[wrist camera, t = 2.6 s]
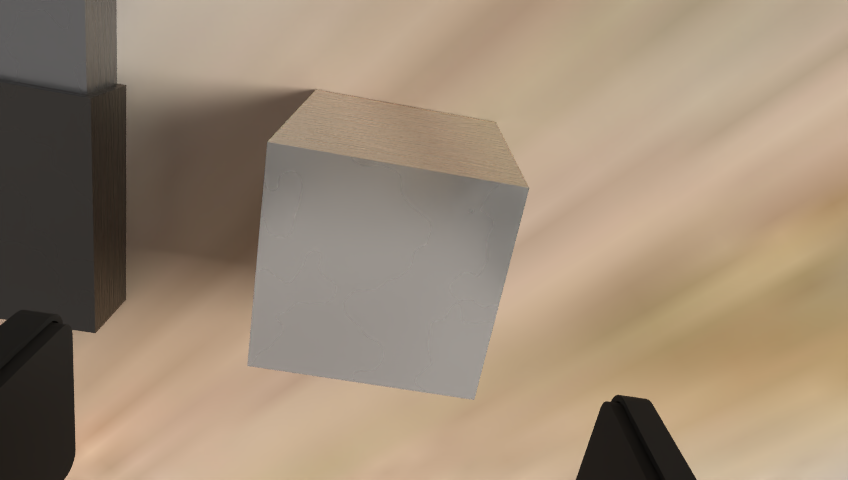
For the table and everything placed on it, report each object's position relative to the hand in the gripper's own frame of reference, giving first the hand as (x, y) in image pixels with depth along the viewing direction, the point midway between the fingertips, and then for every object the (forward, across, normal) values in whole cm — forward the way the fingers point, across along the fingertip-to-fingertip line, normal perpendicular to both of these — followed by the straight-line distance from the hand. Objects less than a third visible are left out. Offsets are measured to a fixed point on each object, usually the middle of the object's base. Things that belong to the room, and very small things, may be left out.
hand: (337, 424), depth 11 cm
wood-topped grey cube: (+12, -1, -1) cm, 12 cm away
